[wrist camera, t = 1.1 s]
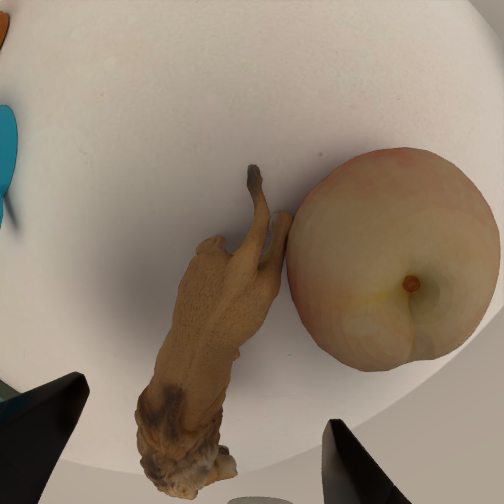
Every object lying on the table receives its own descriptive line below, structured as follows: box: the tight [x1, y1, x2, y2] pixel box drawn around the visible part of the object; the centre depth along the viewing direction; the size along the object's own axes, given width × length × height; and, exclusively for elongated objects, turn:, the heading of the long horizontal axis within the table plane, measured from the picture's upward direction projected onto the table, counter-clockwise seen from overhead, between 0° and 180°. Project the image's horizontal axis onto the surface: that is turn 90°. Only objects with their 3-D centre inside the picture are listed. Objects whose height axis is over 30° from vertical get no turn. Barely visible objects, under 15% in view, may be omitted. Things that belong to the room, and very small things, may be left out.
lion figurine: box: [135, 164, 293, 500], centre depth 11 cm, size 15×5×9 cm, turn 168°
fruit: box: [286, 147, 500, 372], centre depth 9 cm, size 8×8×8 cm
